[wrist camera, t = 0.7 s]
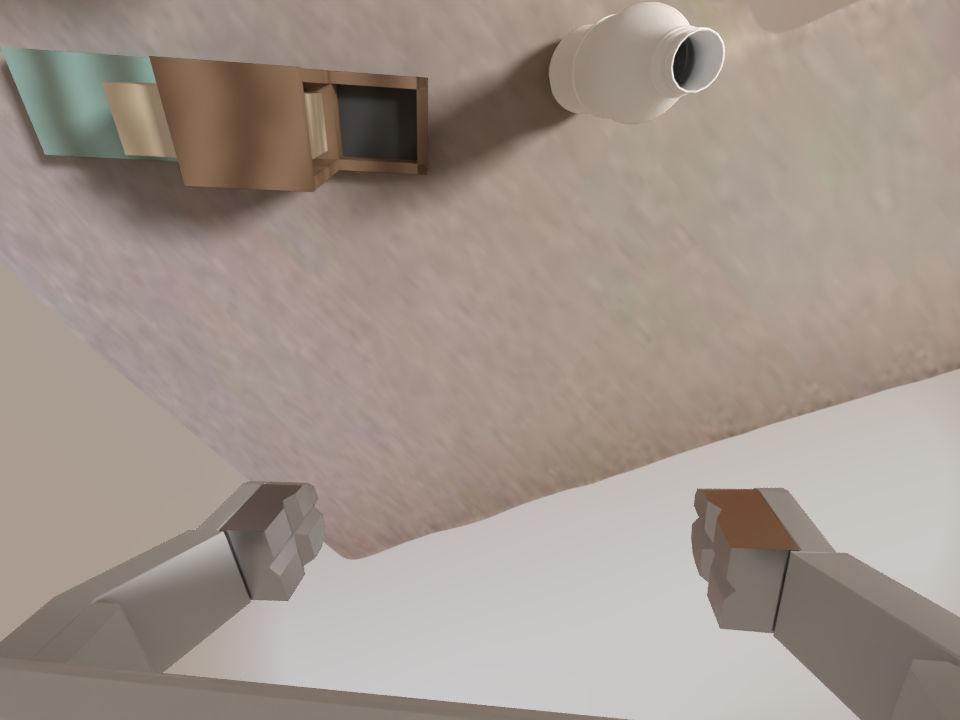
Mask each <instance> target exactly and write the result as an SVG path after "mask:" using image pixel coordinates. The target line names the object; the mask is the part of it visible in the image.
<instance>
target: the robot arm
mask: <svg viewBox="0 0 960 720" xmlns="http://www.w3.org/2000/svg"><path fill="white" fill-rule="evenodd" d="M317 499H318V497H317V494H316V491H315V488H314V486H313V485H311V484H309V483H294V482H260V481H250V482H247V483H243V484H242V485H241V486H240V487H239V488H238V489H237V490H236V491H235V492H234V493H233V494H232V495H231V496H230V497H229V498H228V499H227V500H226V501H225V502H224V503H223V504H222V505H221V506H220V507H219V508H218V509H217V510H215V511H214V513H212V514H211V515H210V516H209V517H208V518H207V519H206V520H205V521H204V522H203V523H202V524H201V525H200V526H199V527H198V528H197V529H196V530H188V531H186V532H184V533H182V534H180V535H178V536H176V537H174V538H172V539H170V540H168V541H166V542H164V543H162V544H160V545H158V546H156V547H154V548H152V549H150V550H148V551H146V552H144V553H142V554H140V555H138V556H136V557H134V558H132V559H130V560H128V561H126V562H124V563H122V564H120V565H118V566H116V567H114V568H112V569H109V570H107V571H105V572H104V573H102V574H100V575H98V576H95V577H93V578H91V579H89V580H87V581H86V582H83V583H82V584H80V585H77V586H75V587H73V588H71V589H69V590H67V591H65V592H63V593H61V594H59V595H57V596H55V597H54V598H52V599H51V600H50V601H49V602H48V603H46V604H45V605H44V606H43V607H42V608H41V609H39V610H38V611H37V612H36V613H35V614H33V615H32V616H31V617H30V618H29V619H27V620H26V621H25V622H24V623H23V624H21V625H20V626H19V627H18V628H17V629H15V630H14V631H13V632H12V633H11V634H9V635H8V636H7V637H6V638H5V639H3V640H2V641H1V642H0V720H628V719H618V718H608V717H597V716H587V715H576V714H567V713H556V712H546V711H536V710H526V709H517V708H505V707H496V706H487V705H477V704H467V703H457V702H445V701H437V700H427V699H416V698H406V697H397V696H386V695H377V694H366V693H357V692H347V691H336V690H327V689H317V688H307V687H297V686H287V685H277V684H267V683H257V682H246V681H237V680H226V679H217V678H206V677H196V676H187V675H176V674H167V673H163V672H164V671H165V670H166V669H168V668H169V667H170V666H172V665H173V664H174V663H175V662H177V661H178V660H179V659H180V658H182V657H183V656H184V655H185V654H187V653H188V652H189V651H190V650H192V649H193V648H194V647H195V646H196V645H198V644H199V643H200V642H202V641H203V640H204V639H205V638H206V637H208V636H209V635H210V634H212V633H213V632H214V631H215V630H216V629H218V628H219V627H220V626H221V625H223V624H224V623H225V622H226V621H228V620H229V619H230V618H231V617H233V616H234V615H235V614H236V613H238V612H239V611H240V610H241V609H243V608H244V607H245V606H246V605H248V604H249V603H250V602H251V601H250V600H277V601H288V600H289V599H290V597H291V596H292V594H293V592H294V591H295V589H296V588H297V586H298V584H299V583H300V581H301V580H302V578H303V576H304V575H305V572H304V565H305V564H307V563H308V562H310V561H311V560H313V559H314V558H315V557H316V556H317V554H318V552H319V551H320V549H321V547H322V543H323V540H324V536H325V522H324V518H323V514H322V513H321V512H320V511H319V510H318V509H317V508H315V507H314V505H315V503H316V501H317ZM694 502H695V503H694V506H695V509H696V511H697V514H698V516H699V518H698V519H697V520H696V521H695V522H694V523H693V524H692V536H691V537H692V538H691V539H692V549H693V555H694V559H695V563H696V566H697V569H698V572H699V575H700V576H701V577H703V578H704V579H705V580H706V581H707V582H709V585H708V594H707V596H708V598H709V601H710V603H711V606H712V609H713V611H714V614H715V616H716V619H717V622H718V624H719V627H720V628H721V629H733V630H743V631H755V632H765V633H774V637H775V638H776V639H777V640H779V641H780V642H781V643H782V644H783V645H784V646H785V647H786V648H787V649H788V650H789V651H790V652H791V653H792V654H793V655H794V656H795V657H796V658H797V659H798V660H799V661H800V662H801V663H803V665H805V666H806V667H807V668H808V669H809V670H810V671H811V672H812V673H813V674H814V675H815V676H816V677H817V678H818V679H819V680H820V681H821V682H822V683H823V684H824V685H825V686H826V687H827V688H829V689H830V690H831V691H832V692H833V693H834V694H835V695H836V696H837V697H838V698H839V699H840V700H841V701H842V702H843V703H844V704H845V705H846V706H847V707H848V708H849V709H851V710H852V712H854V713H855V714H856V715H857V716H858V717H859V718H860V719H861V720H960V617H958V616H957V615H955V614H953V613H951V612H950V611H948V610H946V609H944V608H942V607H941V606H939V605H937V604H935V603H933V602H932V601H930V600H928V599H927V598H925V597H923V596H921V595H920V594H918V593H916V592H914V591H913V590H911V589H909V588H907V587H905V586H904V585H902V584H900V583H898V582H897V581H895V580H893V579H891V578H890V577H888V576H886V575H884V574H883V573H880V572H879V571H877V570H876V569H874V568H872V567H870V566H869V565H867V564H865V563H863V562H861V561H860V560H858V559H856V558H854V557H853V556H851V555H849V554H847V553H837V552H836V551H835V550H834V548H833V547H832V546H831V545H830V543H829V542H828V541H827V540H826V538H825V537H824V536H823V535H822V533H821V532H820V531H819V529H818V528H817V527H816V526H815V524H814V523H813V522H812V521H811V519H810V518H809V517H808V515H807V514H806V513H805V511H804V510H803V509H802V508H801V506H800V505H799V504H798V503H797V501H796V500H795V499H794V497H793V496H792V495H791V494H790V492H789V491H787V490H786V489H784V488H754V489H697V492H696V494H695V501H694Z"/></svg>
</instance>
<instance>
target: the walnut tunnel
mask: <svg viewBox="0 0 960 720" xmlns="http://www.w3.org/2000/svg"><path fill="white" fill-rule="evenodd" d="M0 48H1V50H2V52H3V55H4V57H5V60H6V62H7V64H8V67H9V69H10V72H11V74H12V76H13V79H14V81H15V84H16V86H17V89H18V91H19V93H20V96H21V98H22V101H23V103H24V105H25V108H26V110H27V113H28V115H29V117H30V120H31V122H32V125H33V127H34V129H35V132H36V134H37V137H38V139H39V141H40V144H41V146H42V149H43V151H44V153H45V155H60V156H80V157H99V158H118V159H137V160H157V161H176V162H178V164H179V167H180V171H181V175H182V178H183V182H184V186H199V187H220V188H241V189H263V190H284V191H305V192H314V191H315V190H316V189H317V188H318V187H320V186H321V185H322V184H323V183H324V182H326V181H327V180H328V179H329V178H330V177H332V176H333V175H334V174H335V173H337V172H338V171H339V170H349V171H368V172H388V173H407V174H426V175H427V173H428V78H423V77H410V76H396V75H382V74H368V73H354V72H340V71H328V70H318V69H304V68H301V67H294V66H280V65H266V64H252V63H238V62H224V61H211V60H197V59H183V58H169V57H155V56H149V58H146V57H132V56H118V55H104V54H90V53H76V52H62V51H49V50H35V49H21V48H7V47H0ZM102 82H156V84H157V87H158V91H159V95H160V98H161V102H162V105H163V109H164V113H165V116H166V120H167V124H168V127H169V131H170V135H171V138H172V142H173V146H174V149H175V153H176V156H177V158H175V157H157V156H138V155H125V152H124V149H123V146H122V143H121V140H120V137H119V134H118V131H117V128H116V125H115V122H114V118H113V115H112V112H111V109H110V106H109V103H108V100H107V97H106V94H105V91H104V88H103V85H102ZM304 92H315V93H322V102H323V111H324V120H325V129H326V138H327V147H328V151H326V152H325V153H323V154H321V155H319V156H318V157H316V158H314V159H313V160H312V154H311V146H310V138H309V130H308V122H307V114H306V107H305V99H304Z"/></svg>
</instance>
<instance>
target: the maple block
mask: <svg viewBox="0 0 960 720" xmlns="http://www.w3.org/2000/svg"><path fill="white" fill-rule="evenodd" d="M102 85H103V88H104V91H105V94H106V97H107V100H108V103H109V106H110V109H111V112H112V115H113V118H114V122H115V125H116V128H117V131H118V134H119V137H120V140H121V143H122V146H123V149H124V152H125V155H138V156H157V157H175V158H177V156H176V153H175V149H174V146H173V142H172V138H171V135H170V131H169V127H168V124H167V120H166V116H165V113H164V109H163V105H162V102H161V98H160V95H159V91H158V87H157V84H156V82H102ZM304 99H305V107H306V114H307V122H308V130H309V138H310V146H311V154H312V160H313V159H314V158H316V157H318V156H319V155H321V154H323V153H325V152H326V151H328V147H327V138H326V129H325V120H324V111H323V102H322V93H315V92H304Z"/></svg>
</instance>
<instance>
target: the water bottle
mask: <svg viewBox="0 0 960 720" xmlns="http://www.w3.org/2000/svg"><path fill="white" fill-rule="evenodd" d="M724 57H725V49H724V42H723V40H722V39H721V37H720V35H719V33H717V32H715V31H714V30H712V29H710V28H707V27H706V28H696V27H694V26H690V24H689V23H688V21H687V20H686V18H685V17H684V16H683V15H682V14H681V13H680V12H679V11H678V10H676V9H675V8H673V7H671V6H669V5H666V4H663V3H659V2H643V3H639V4H635V5H632V6H630V7H628V8H626V9H624V10H623V11H621V12H620V13H618V14H613V15H609V16H606V17H604V18H602V19H600V20H599V21H597V22H596V23H594V24H589V25H584V26H582V27H579V28H577V29H575V30H573V31H572V32H570V33H569V34H568V35H566V36H565V37H564V38H563V39H562V40H561V42H560V43H559V44H558V46H557V47H556V49H555V51H554V53H553V56H552V58H551V62H550V66H549V79H550V85H551V91H552V94H553V96H554V98H555V99H556V101H557V102H558V103H559V104H560V105H561V106H562V107H563V108H565V109H566V110H568V111H570V112H573V113H577V114H592V115H594V116H597V117H600V118H607V119H612V120H614V121H616V122H619V123H623V124H638V123H643V122H647V121H649V120H651V119H654V118H656V117H658V116H660V115H661V114H663V113H664V112H666V111H667V110H668V109H669V108H670V107H671V106H673V105H674V104H675V103H676V101H677V100H678V99H679V98H680V97H682V96H684V95H686V94H692V93H695V92H698V91H701V90H703V89H705V88H707V87H708V86H709V85H710V84H711V83H712V82H713V81H714V80H715V79H716V77H717V76H718V74H719V72H720V70H721V69H722V66H723V62H724Z"/></svg>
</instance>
